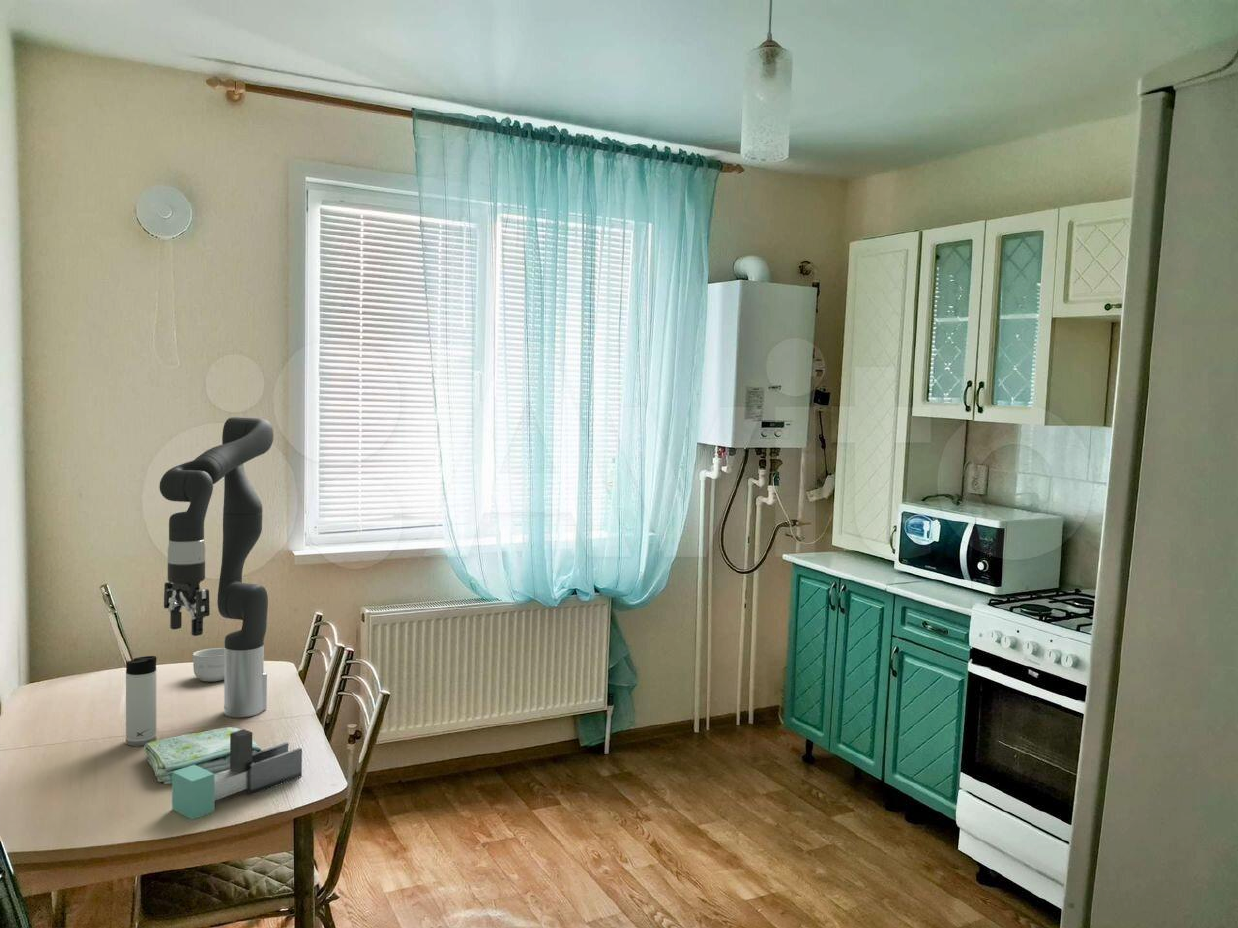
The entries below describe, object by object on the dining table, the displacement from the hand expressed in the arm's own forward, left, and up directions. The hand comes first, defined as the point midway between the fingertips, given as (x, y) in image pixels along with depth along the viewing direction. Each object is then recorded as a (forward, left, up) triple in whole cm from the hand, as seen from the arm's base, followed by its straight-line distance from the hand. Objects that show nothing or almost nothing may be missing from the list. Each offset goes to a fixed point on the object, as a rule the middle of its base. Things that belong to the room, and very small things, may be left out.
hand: (186, 631), depth 199 cm
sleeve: (-3, +26, -28) cm, 39 cm away
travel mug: (+2, -15, -28) cm, 32 cm away
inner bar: (+7, +26, -27) cm, 38 cm away
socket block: (+14, +26, -28) cm, 41 cm away
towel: (0, +6, -29) cm, 29 cm away
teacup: (-35, -44, -28) cm, 63 cm away
